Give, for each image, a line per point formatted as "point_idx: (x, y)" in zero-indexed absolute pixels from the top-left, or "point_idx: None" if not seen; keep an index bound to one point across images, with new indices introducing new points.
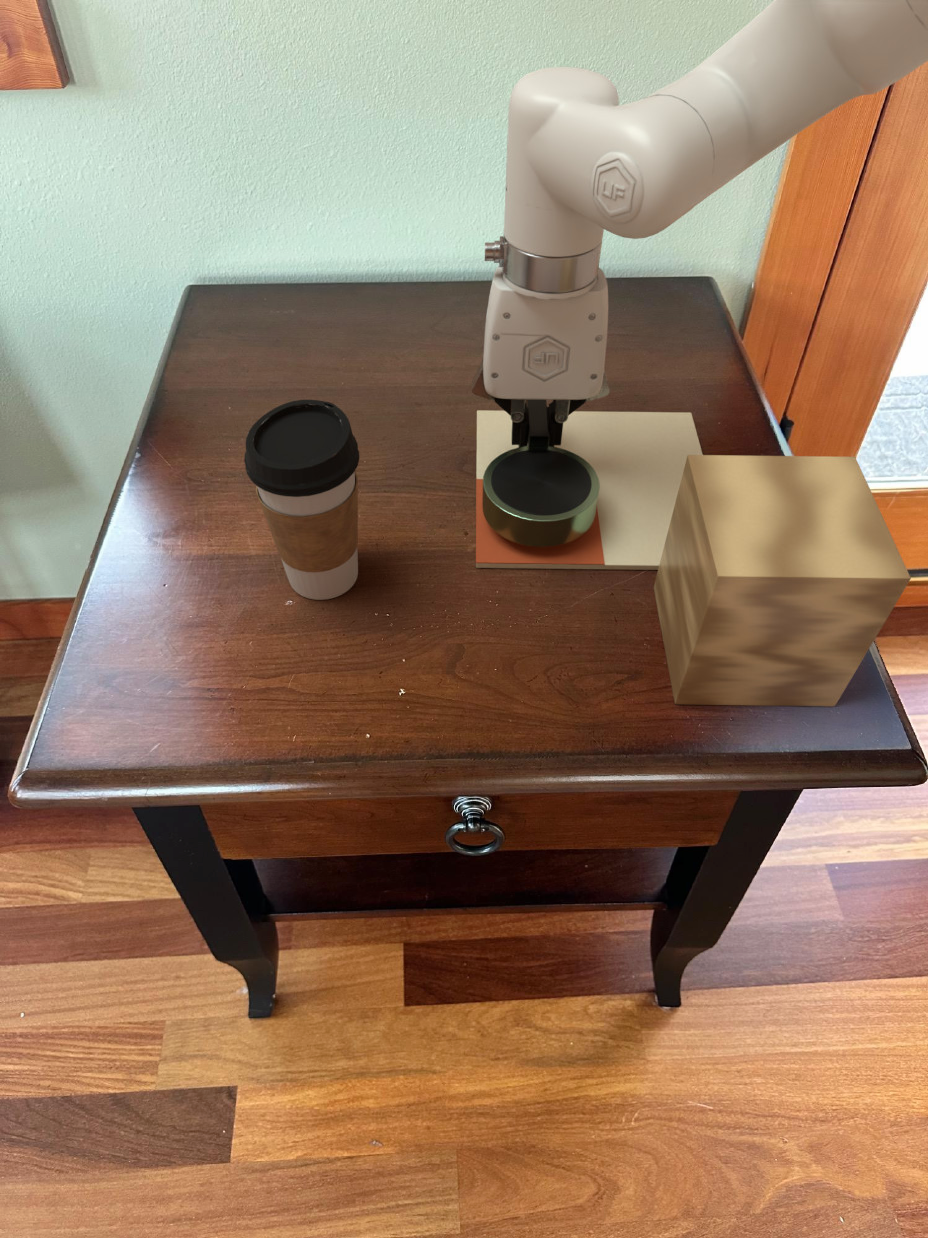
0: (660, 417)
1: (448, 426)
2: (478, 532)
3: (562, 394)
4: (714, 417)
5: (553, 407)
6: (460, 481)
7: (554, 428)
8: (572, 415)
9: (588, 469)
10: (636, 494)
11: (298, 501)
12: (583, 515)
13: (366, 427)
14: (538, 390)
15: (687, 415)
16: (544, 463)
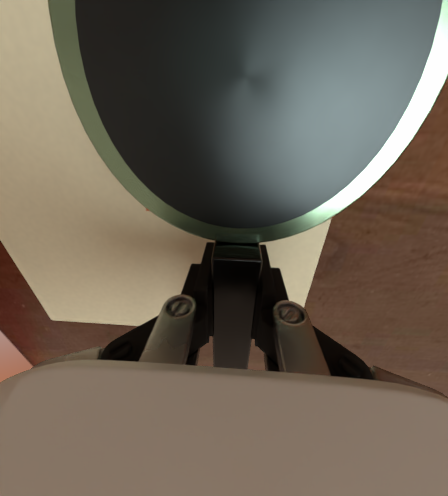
0: (82, 315)
1: (332, 317)
2: None
3: (139, 395)
4: (31, 313)
5: (198, 333)
6: (350, 221)
7: (198, 282)
8: None
9: (108, 144)
10: (74, 176)
11: None
12: None
13: (439, 321)
14: (259, 434)
15: (53, 316)
16: (229, 171)
